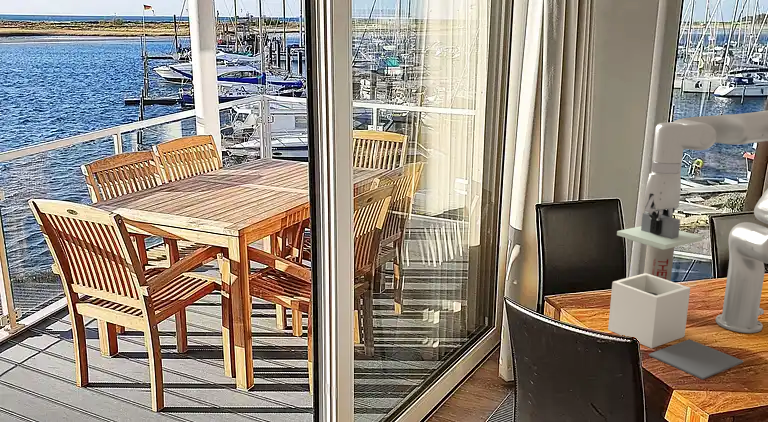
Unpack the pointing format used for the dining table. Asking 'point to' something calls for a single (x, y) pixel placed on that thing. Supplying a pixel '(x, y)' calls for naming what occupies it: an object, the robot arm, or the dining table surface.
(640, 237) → the lid
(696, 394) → the dining table surface
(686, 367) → the mat
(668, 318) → the storage box
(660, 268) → the thermos bottle
